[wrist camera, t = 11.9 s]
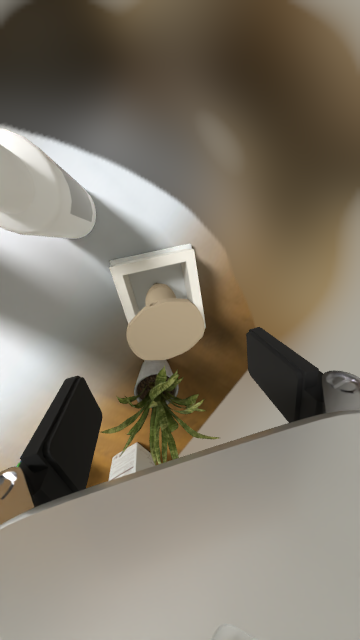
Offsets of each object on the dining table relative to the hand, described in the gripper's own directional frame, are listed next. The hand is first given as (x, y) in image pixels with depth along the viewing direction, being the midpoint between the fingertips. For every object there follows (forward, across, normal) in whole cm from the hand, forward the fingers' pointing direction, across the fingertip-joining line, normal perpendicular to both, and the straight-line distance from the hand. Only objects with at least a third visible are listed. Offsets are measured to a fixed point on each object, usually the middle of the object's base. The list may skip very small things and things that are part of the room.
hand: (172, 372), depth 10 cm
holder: (+21, -1, 0) cm, 21 cm away
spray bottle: (+22, +8, -13) cm, 26 cm away
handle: (+20, -1, 0) cm, 20 cm away
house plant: (+21, +2, +16) cm, 26 cm away
